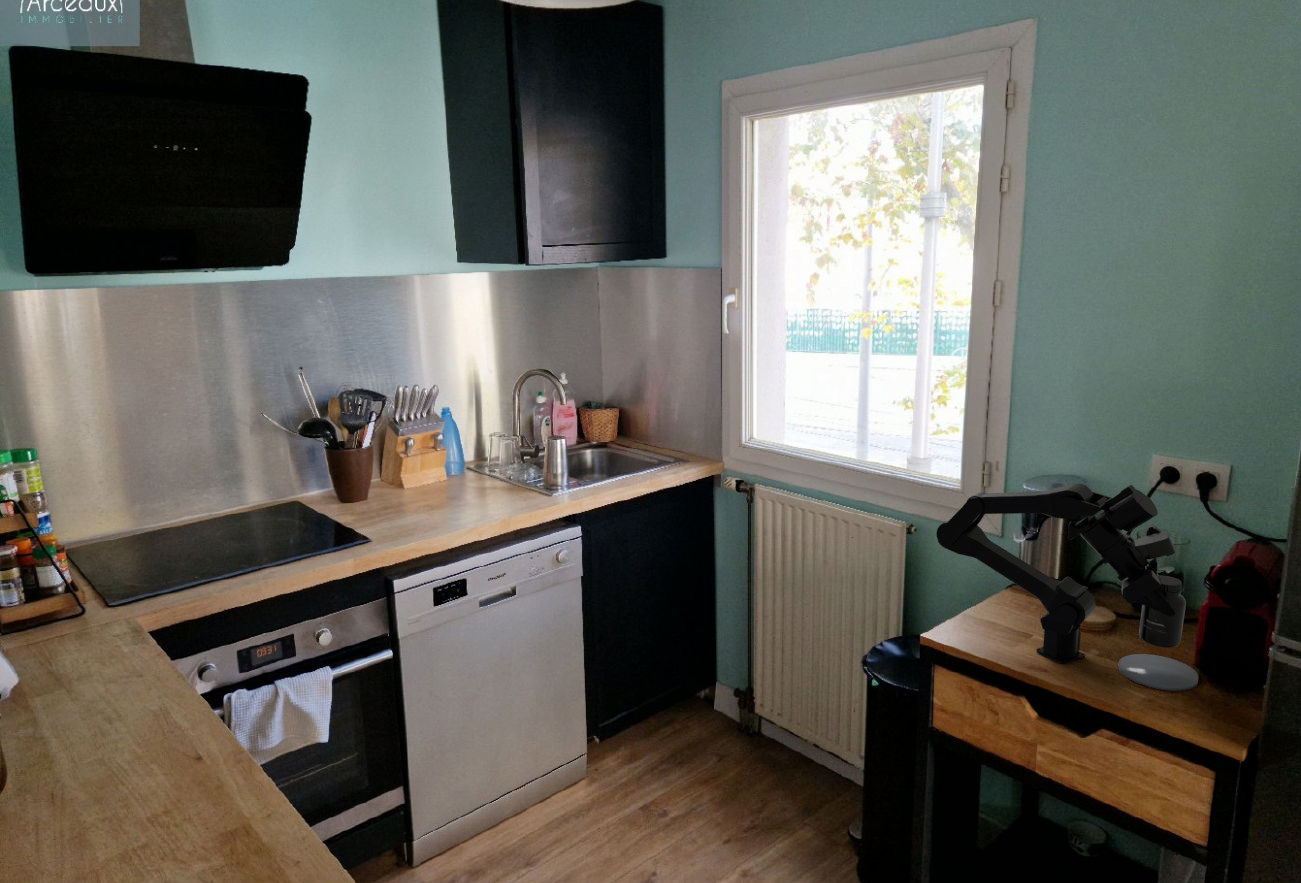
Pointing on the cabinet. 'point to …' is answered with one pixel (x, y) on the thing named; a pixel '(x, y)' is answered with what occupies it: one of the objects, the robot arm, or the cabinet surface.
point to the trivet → (1158, 672)
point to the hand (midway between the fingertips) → (1171, 607)
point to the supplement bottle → (1164, 617)
